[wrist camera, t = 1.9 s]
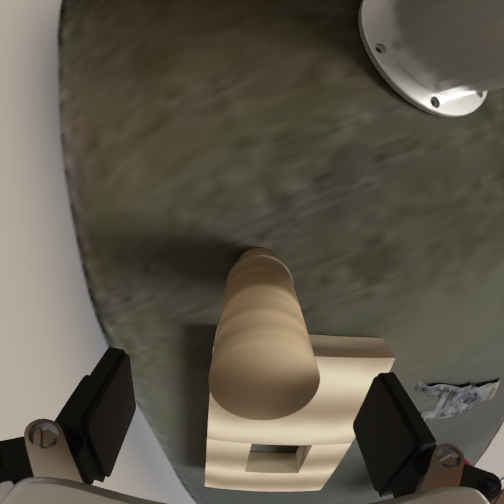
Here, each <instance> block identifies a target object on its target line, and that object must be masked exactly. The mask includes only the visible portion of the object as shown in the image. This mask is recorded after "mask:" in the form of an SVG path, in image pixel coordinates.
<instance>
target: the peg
mask: <svg viewBox="0 0 504 504" xmlns="http://www.w3.org/2000/svg"><path fill="white" fill-rule="evenodd" d="M225 288H226V290H225V295H224V300H223V305H222V310H221V315H220V320H219V325H218V330H217V335H216V341H215V346H214V351H213V356H212V361H211V367H210V372H209V378H208V386H209V390H210V393H211V395H212V397H213V398H214V400H215V401H216V402H217V403H218V404H219V405H220V406H221V407H222V408H223V409H225V410H226V411H228V412H230V413H231V414H234V415H236V416H239V417H242V418H246V419H251V420H273V419H279V418H283V417H286V416H289V415H291V414H293V413H295V412H297V411H299V410H301V409H302V408H303V407H305V406H306V405H307V404H308V403H309V402H310V401H311V400H312V399H313V397H314V396H315V394H316V392H317V390H318V388H319V384H320V373H319V369H318V366H317V362H316V359H315V356H314V352H313V349H312V345H311V342H310V339H309V335H308V332H307V329H306V325H305V322H304V319H303V315H302V312H301V309H300V306H299V302H298V299H297V296H296V293H295V289H294V286H293V279H292V276H291V273H290V271H289V269H288V268H287V266H286V265H285V264H284V263H283V262H282V261H281V260H279V259H278V257H277V256H276V255H275V254H274V253H273V252H272V251H270V250H268V249H266V248H260V247H257V248H252V249H249V250H247V251H245V252H244V253H243V254H242V255H241V256H240V257H239V259H238V261H237V262H236V263H235V264H234V265H233V266H232V268H231V269H230V271H229V273H228V275H227V278H226V285H225Z"/></svg>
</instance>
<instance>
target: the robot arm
mask: <svg viewBox="0 0 504 504" xmlns="http://www.w3.org/2000/svg"><path fill="white" fill-rule="evenodd" d="M358 26H359V31H360V37H361V39H362V42H363V45H364V47H365V50H366V52H367V54H368V56H369V58H370V59H371V61H372V63H373V65H374V66H375V68H376V69H377V70H378V72H379V73H380V74H381V76H382V77H383V79H384V80H385V81H386V82H387V83H388V84H389V85H390V86H391V87H392V88H393V89H394V90H395V91H396V92H397V93H398V94H399V95H400V96H402V97H403V98H404V99H405V100H406V101H408V102H409V103H411V104H412V105H414V106H416V107H417V108H419V109H421V110H423V111H425V112H427V113H430V114H432V115H436V116H440V117H459V116H465V115H467V114H470V113H472V112H474V111H475V110H476V109H477V108H478V107H480V105H481V104H482V103H483V101H484V99H485V97H486V94H487V91H488V90H494V89H499V88H504V0H362V2H361V5H360V8H359V11H358ZM377 50H378V51H377ZM135 409H136V403H135V397H134V390H133V382H132V374H131V366H130V357H129V355H127V354H125V351H124V350H122V349H117V348H113V347H109V348H108V349H107V351H106V352H105V354H104V355H103V357H102V358H101V360H100V361H99V363H98V364H97V366H96V367H95V368H94V370H93V371H92V373H91V375H90V376H89V375H86V376H85V377H83V379H82V380H81V382H80V383H79V385H78V386H77V388H76V389H75V391H74V392H73V394H72V395H71V397H70V398H69V400H68V401H67V403H66V404H65V406H64V407H63V409H62V410H61V412H60V413H59V415H58V417H57V418H56V420H55V421H52V420H48V419H38V420H35V421H33V422H31V423H30V424H29V425H28V426H27V427H26V429H25V432H24V437H19V438H15V439H9V440H4V441H0V504H165V503H161V502H156V501H151V500H146V499H142V498H138V497H133V496H129V495H126V494H122V493H118V492H115V491H111V490H107V489H104V488H100V487H96V486H93V485H91V484H93V481H94V480H98V481H100V482H103V481H104V479H105V476H107V477H109V476H110V475H111V473H112V470H113V467H114V465H115V462H116V459H117V456H118V454H119V451H120V449H121V446H122V443H123V441H124V438H125V436H126V433H127V431H128V428H129V426H130V423H131V421H132V418H133V415H134V413H135ZM353 430H354V433H355V436H356V439H357V441H358V444H359V447H360V450H361V453H362V455H363V458H364V461H365V464H366V467H367V470H368V472H369V475H370V478H371V481H372V484H373V487H374V489H375V490H376V491H378V492H379V495H380V497H382V496H387V495H391V494H393V496H394V498H392V499H388V500H383V501H378V502H374V503H369V504H504V489H503V490H502V489H501V486H502V485H501V481H500V480H499V478H498V477H497V476H496V475H495V474H493V473H490V472H487V471H484V470H481V469H478V468H476V467H473V466H470V465H468V464H465V463H464V455H463V453H462V451H461V450H460V449H459V448H458V447H456V446H454V445H452V444H441V445H439V446H438V447H436V445H435V443H436V440H435V438H434V436H433V435H432V433H431V431H430V430H429V428H428V426H427V425H426V423H425V421H424V420H423V418H422V416H421V415H420V413H419V412H418V410H417V408H416V407H415V405H414V403H413V402H412V400H411V399H410V397H409V395H408V394H407V392H406V391H405V389H404V388H403V386H402V384H401V383H400V381H399V380H398V378H397V377H396V375H395V374H394V373H393V372H388V373H379V374H378V376H376V377H374V379H373V381H372V383H371V386H370V388H369V390H368V392H367V395H366V397H365V399H364V401H363V403H362V405H361V407H360V410H359V412H358V414H357V416H356V418H355V420H354V422H353Z"/></svg>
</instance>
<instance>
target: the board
mask: <svg viewBox="0 0 504 504" xmlns="http://www.w3.org/2000/svg"><path fill="white" fill-rule="evenodd" d="M217 330H218V325H217ZM217 330H216V335H217ZM216 335H215V340H214V345H213V351H214V346H215V341H216ZM308 335H309V339H310V342H311V345H312V349H313V352H314V356H315V359H316V362H317V366H318V369H319V373H320V384H319V388H318V390H317V392H316V394H315V396H314V397H313V399H312V400H311V401H310V402H309V403H308V404H307V405H306V406H305V407H303V408H302V409H301V410H299V411H297V412H295V413H293V414H291V415H289V416H286V417H283V418H279V419H273V420H251V419H246V418H242V417H239V416H236V415H234V414H231V413H230V412H228V411H226V410H225V409H223V408H222V407H221V406H220V405H219V404H218V403H217V402H216V401H215V400H214V398H213V397H212V395H211V393H210V397H209V413H208V430H207V448H206V470H205V486H206V487H214V488H223V489H234V490H248V491H313V490H321V489H322V487H323V486H324V484H325V483H326V482H327V480H328V479H329V477H330V476H331V474H332V473H333V471H334V470H335V468H336V467H337V465H338V464H339V462H340V461H341V459H342V458H343V456H344V455H345V453H346V451H347V450H348V448H349V447H350V445H351V443H352V442H353V440H354V438H355V437H356V436H355V433H354V430H353V422H354V420H355V418H356V416H357V414H358V412H359V410H360V407H361V405H362V403H363V401H364V399H365V397H366V395H367V392H368V390H369V388H370V386H371V383H372V381H373V379H374V377H376V376H378V374H379V373H388V372H389V371H390V369H391V367H392V364H393V362H394V360H395V356H394V355H393V353H392V352H391V350H390V348H389V347H388V345H387V344H386V342H385V341H384V339H383V338H370V337H346V336H328V335H312V334H308ZM251 444H267V445H299V447H298V449H297V451H296V453H271V452H252V451H250V448H251Z"/></svg>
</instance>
